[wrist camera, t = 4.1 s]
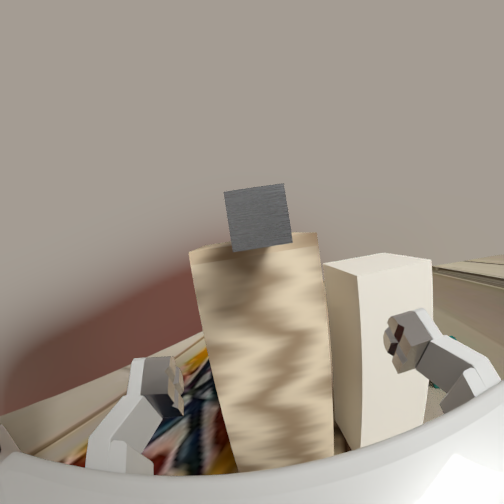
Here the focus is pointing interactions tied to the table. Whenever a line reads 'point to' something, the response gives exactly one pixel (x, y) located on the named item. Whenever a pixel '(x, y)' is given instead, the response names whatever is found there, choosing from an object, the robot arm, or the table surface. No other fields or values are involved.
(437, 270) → the table surface
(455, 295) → the table surface
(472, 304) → the table surface
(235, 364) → the tall stand
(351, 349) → the block
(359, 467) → the robot arm
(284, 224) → the rod
